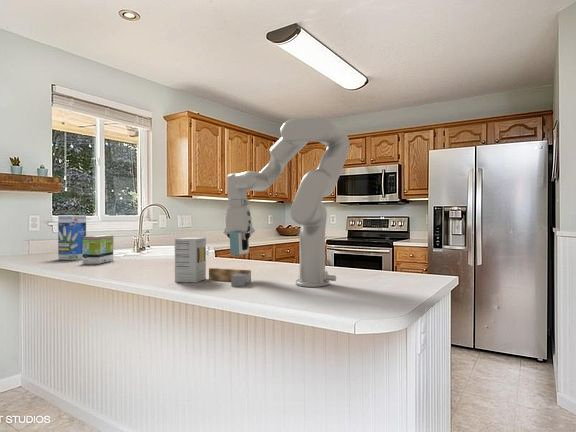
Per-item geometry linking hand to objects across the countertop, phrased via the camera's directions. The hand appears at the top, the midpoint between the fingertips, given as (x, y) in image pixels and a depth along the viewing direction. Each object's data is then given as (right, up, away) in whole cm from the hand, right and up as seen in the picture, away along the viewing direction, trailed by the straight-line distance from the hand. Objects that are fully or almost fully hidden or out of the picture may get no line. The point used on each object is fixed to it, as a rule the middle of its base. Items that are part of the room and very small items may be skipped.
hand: (239, 249), depth 154 cm
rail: (-4, -12, -4) cm, 13 cm away
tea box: (-85, -12, +56) cm, 102 cm away
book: (0, -2, 0) cm, 2 cm away
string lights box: (-108, -12, +71) cm, 130 cm away
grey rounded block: (+2, -12, -12) cm, 17 cm away
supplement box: (-19, -12, -3) cm, 23 cm away
